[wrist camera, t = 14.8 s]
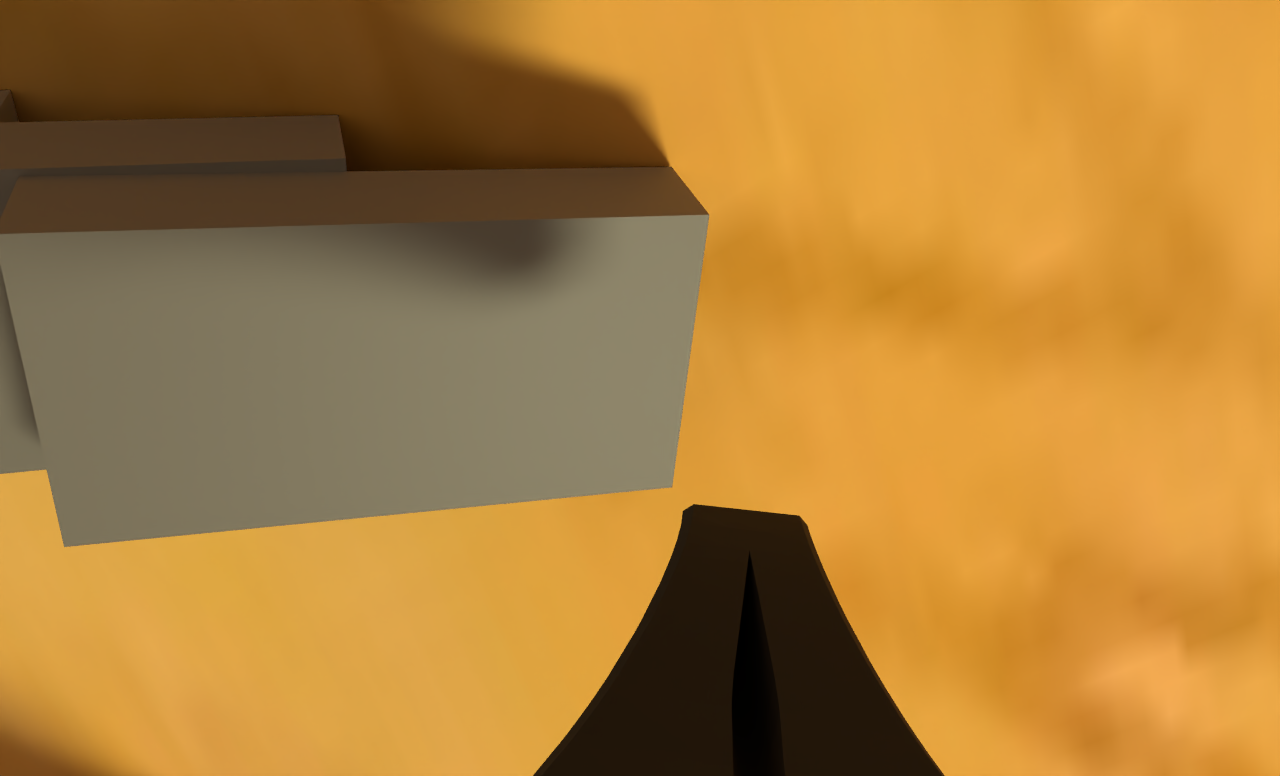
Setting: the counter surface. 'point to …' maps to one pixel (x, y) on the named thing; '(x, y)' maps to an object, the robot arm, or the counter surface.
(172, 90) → the counter surface
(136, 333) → the domino
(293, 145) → the domino
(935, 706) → the counter surface
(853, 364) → the counter surface
